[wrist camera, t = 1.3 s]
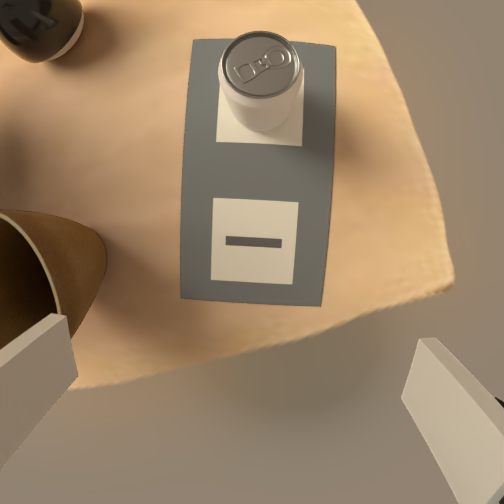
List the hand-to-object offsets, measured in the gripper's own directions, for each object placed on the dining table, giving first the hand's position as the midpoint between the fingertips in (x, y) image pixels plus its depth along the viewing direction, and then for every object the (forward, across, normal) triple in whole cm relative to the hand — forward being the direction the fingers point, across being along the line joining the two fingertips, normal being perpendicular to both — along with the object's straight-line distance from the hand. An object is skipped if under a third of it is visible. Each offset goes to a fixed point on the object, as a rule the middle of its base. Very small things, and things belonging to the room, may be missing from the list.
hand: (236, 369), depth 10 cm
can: (+25, 0, +15) cm, 29 cm away
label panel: (+25, 0, +8) cm, 26 cm away
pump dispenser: (+25, -27, +27) cm, 46 cm away
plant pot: (+25, -21, -3) cm, 33 cm away
